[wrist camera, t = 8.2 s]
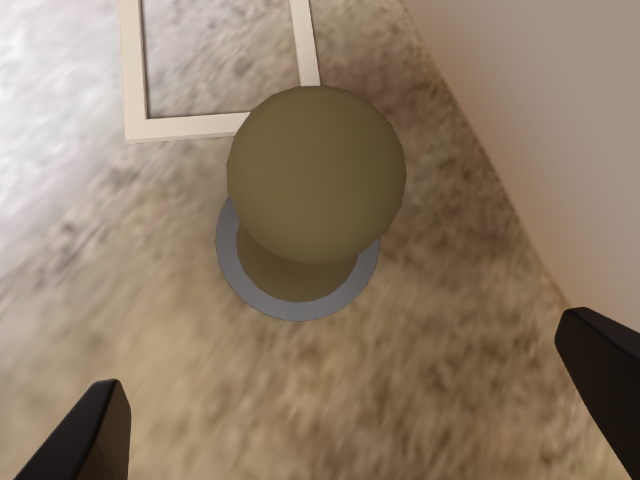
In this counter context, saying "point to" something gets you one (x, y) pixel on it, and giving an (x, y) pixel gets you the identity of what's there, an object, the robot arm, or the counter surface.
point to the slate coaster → (282, 308)
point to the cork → (312, 189)
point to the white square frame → (193, 126)
